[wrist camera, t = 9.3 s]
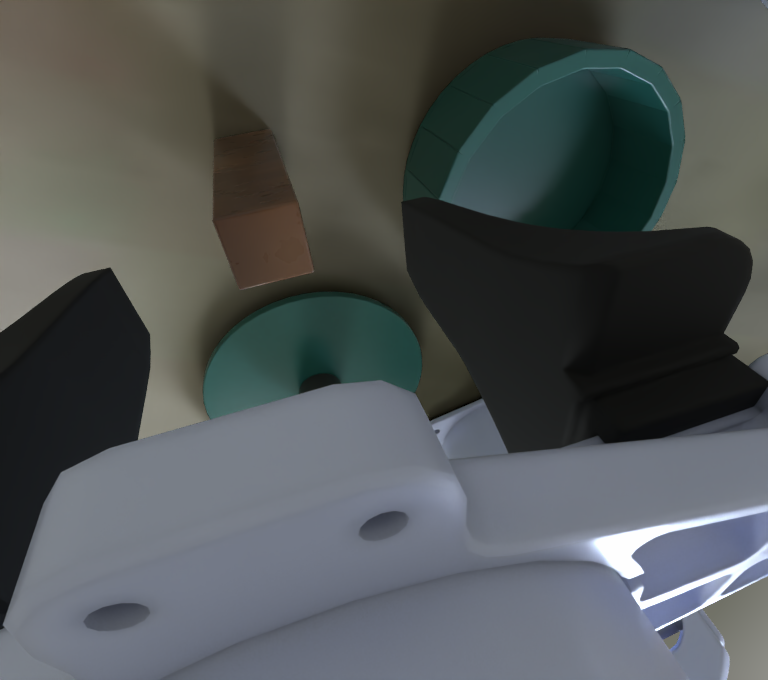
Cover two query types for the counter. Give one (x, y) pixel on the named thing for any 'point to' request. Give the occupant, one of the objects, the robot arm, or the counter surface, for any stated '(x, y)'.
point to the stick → (257, 211)
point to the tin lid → (309, 351)
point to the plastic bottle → (765, 3)
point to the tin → (553, 138)
